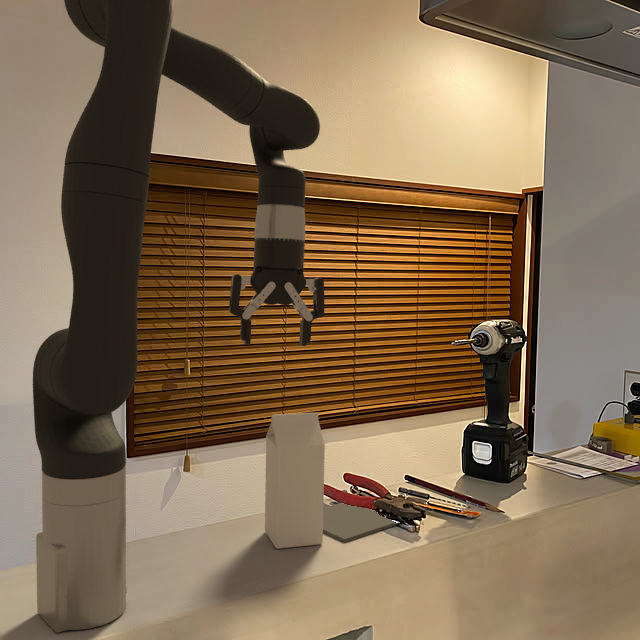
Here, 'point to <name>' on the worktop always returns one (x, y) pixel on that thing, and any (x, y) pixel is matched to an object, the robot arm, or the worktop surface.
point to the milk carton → (294, 480)
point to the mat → (352, 521)
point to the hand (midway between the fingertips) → (275, 344)
